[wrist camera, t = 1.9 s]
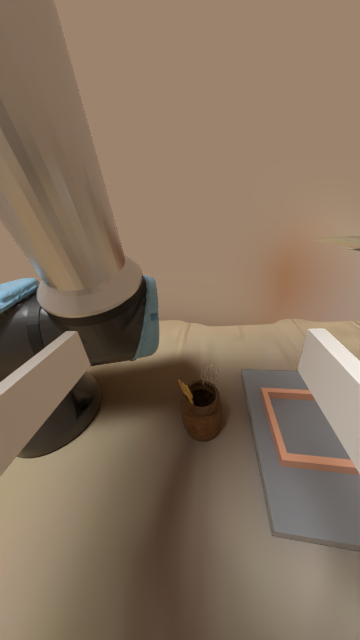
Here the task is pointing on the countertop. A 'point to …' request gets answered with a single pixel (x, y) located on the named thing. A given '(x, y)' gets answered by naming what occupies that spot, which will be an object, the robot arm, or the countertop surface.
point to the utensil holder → (201, 408)
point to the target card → (301, 462)
